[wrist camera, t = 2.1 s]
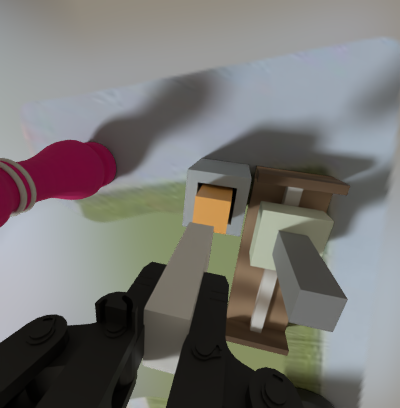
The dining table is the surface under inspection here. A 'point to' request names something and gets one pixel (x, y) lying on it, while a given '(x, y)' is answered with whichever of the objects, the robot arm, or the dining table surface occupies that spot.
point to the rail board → (265, 278)
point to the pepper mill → (54, 175)
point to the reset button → (213, 206)
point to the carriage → (298, 262)
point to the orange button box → (221, 176)
